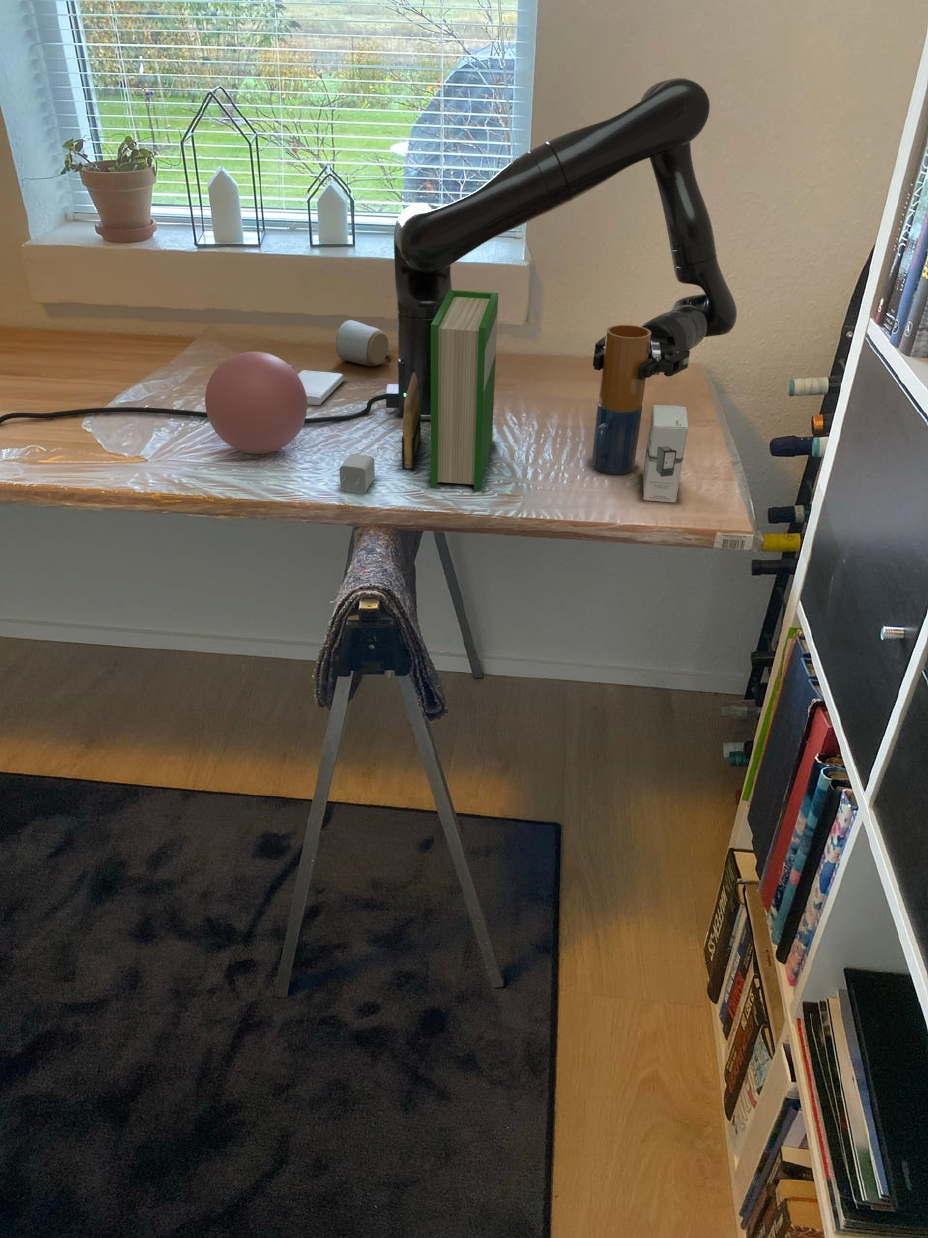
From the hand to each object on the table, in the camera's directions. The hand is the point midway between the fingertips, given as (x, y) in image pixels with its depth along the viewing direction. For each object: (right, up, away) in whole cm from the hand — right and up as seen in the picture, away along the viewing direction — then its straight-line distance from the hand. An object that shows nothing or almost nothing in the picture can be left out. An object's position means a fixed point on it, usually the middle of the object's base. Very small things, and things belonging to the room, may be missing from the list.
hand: (618, 368), depth 136 cm
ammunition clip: (-31, -11, +12) cm, 35 cm away
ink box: (+7, -17, +4) cm, 19 cm away
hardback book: (-23, -12, +10) cm, 28 cm away
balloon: (-54, -8, +15) cm, 56 cm away
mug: (0, -13, +10) cm, 16 cm away
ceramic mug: (-42, +14, +49) cm, 66 cm away
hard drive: (-50, +5, +35) cm, 61 cm away
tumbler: (+1, -4, +5) cm, 7 cm away
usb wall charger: (-38, -17, +2) cm, 42 cm away
